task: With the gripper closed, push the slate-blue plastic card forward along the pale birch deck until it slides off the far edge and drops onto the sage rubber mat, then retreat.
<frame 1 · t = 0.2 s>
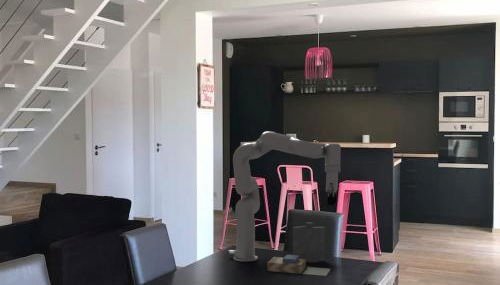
hand: (332, 203, 264), 31 cm above the table, fingers open, 9 cm apart
mat: (316, 271, 254), on the table
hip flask: (308, 261, 274), on the table
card: (290, 261, 258), point 4 cm above the table, touching deck
deck: (286, 269, 258), on the table
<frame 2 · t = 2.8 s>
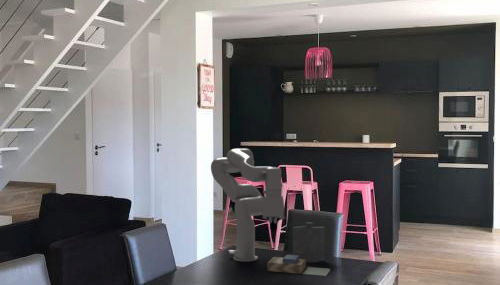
hand: (273, 231, 260), 18 cm above the table, fingers closed
nothing on the table moved.
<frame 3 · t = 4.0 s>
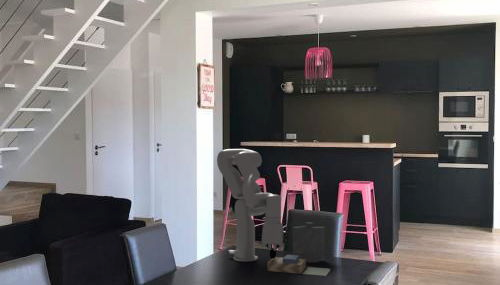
hand: (272, 258, 260), 5 cm above the table, fingers closed
nothing on the table moved.
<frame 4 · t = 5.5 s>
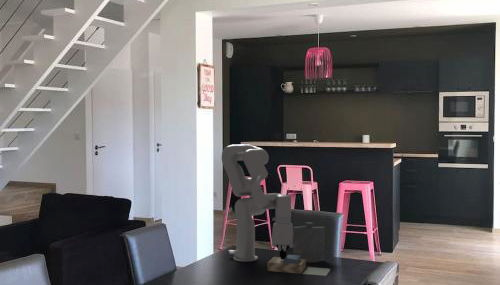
hand: (283, 258, 259), 5 cm above the table, fingers closed
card: (292, 261, 258), point 4 cm above the table, touching deck, gripper
everything else where it was.
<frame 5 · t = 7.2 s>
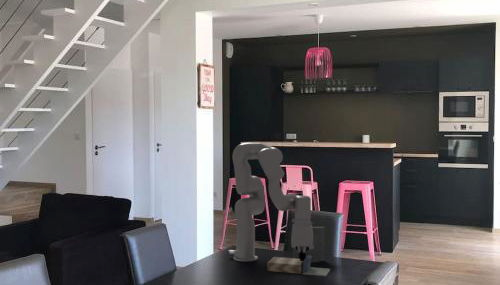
hand: (302, 260, 256), 5 cm above the table, fingers closed
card: (305, 263, 256), point 4 cm above the table, tilted 99°, touching gripper, mat
everything else where it was.
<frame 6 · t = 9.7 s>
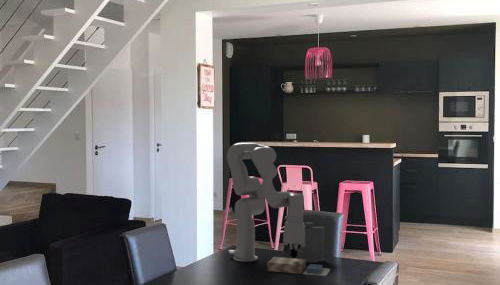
hand: (293, 257, 258), 6 cm above the table, fingers closed
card: (314, 266, 255), point 2 cm above the table, tilted 180°, touching mat
everything else where it was.
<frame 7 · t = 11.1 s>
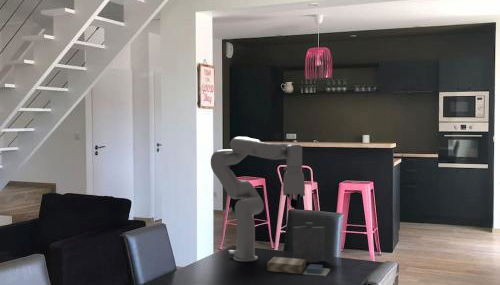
hand: (293, 207, 262), 29 cm above the table, fingers closed
nothing on the table moved.
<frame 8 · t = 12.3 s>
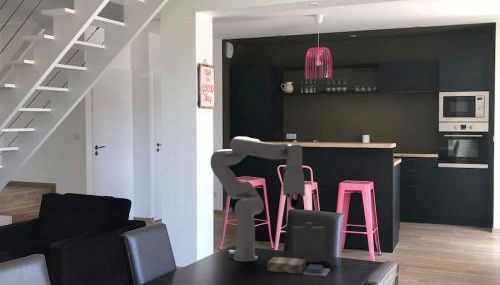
hand: (293, 207, 262), 29 cm above the table, fingers closed
nothing on the table moved.
at the end: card inside the target area (1.6 cm from its centre), point 2.3 cm above the table; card point 2.3 cm above the table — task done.
